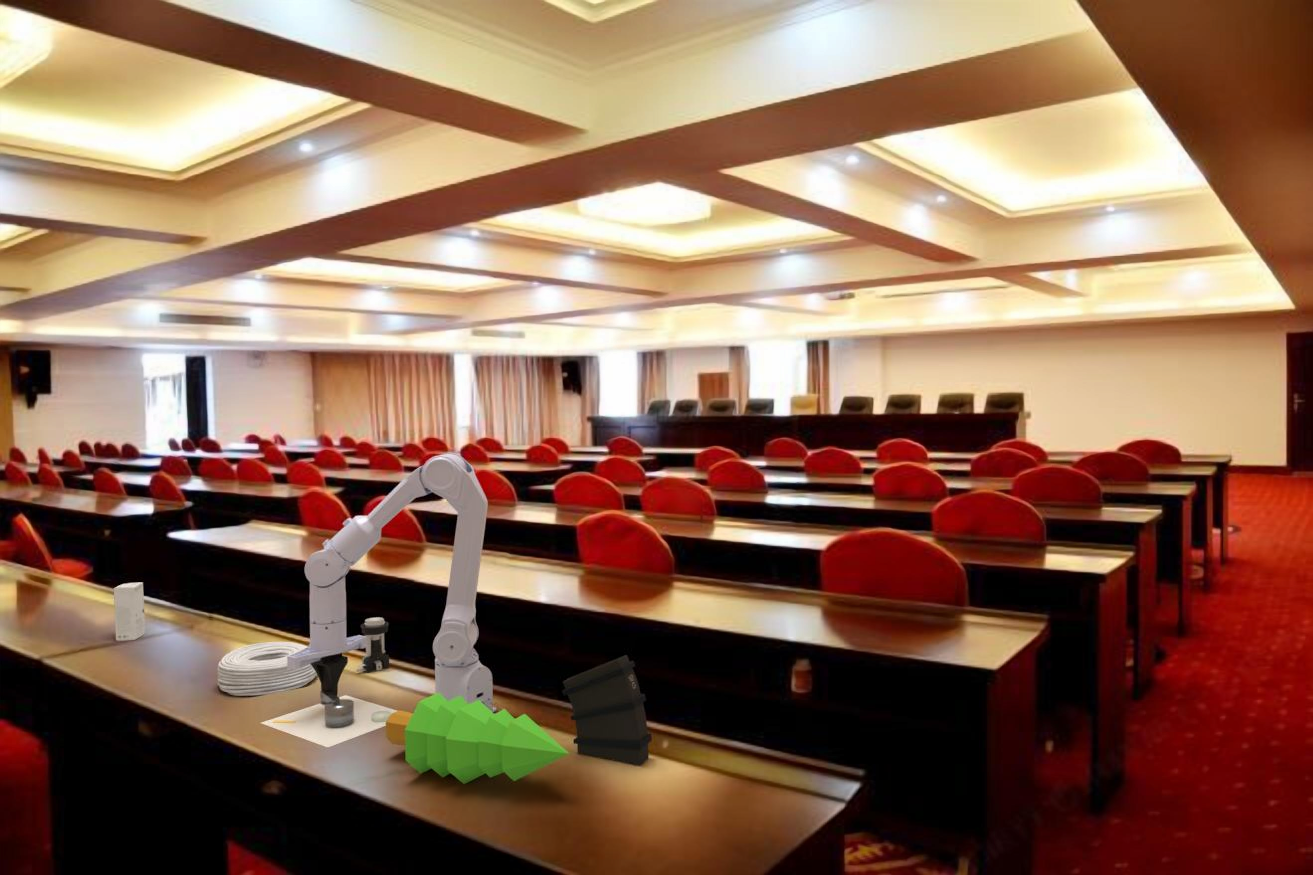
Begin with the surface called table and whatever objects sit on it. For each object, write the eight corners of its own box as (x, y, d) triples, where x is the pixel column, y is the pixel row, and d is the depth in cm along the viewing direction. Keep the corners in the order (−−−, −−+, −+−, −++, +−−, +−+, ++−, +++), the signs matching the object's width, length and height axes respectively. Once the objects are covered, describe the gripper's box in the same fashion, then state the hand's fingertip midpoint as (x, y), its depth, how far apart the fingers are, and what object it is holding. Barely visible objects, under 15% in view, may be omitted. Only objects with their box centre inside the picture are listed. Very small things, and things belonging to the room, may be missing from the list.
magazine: (659, 759, 121) (618, 659, 123) (587, 783, 126) (549, 687, 129) (670, 750, 124) (630, 653, 127) (600, 773, 130) (563, 679, 132)
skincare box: (136, 640, 192) (134, 586, 191) (114, 641, 191) (112, 587, 190) (146, 633, 198) (145, 581, 197) (124, 634, 197) (123, 582, 196)
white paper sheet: (413, 721, 141) (412, 710, 141) (327, 753, 128) (327, 741, 128) (345, 700, 151) (345, 690, 151) (260, 728, 138) (260, 717, 138)
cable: (259, 667, 172) (259, 637, 172) (337, 672, 168) (336, 642, 168) (195, 695, 155) (195, 662, 155) (280, 702, 151) (280, 668, 151)
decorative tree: (407, 671, 128) (578, 692, 115) (430, 731, 132) (598, 757, 119) (356, 723, 119) (535, 752, 105) (382, 786, 123) (558, 821, 110)
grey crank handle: (358, 722, 137) (357, 701, 137) (330, 729, 134) (330, 708, 134) (337, 706, 144) (336, 687, 144) (310, 713, 142) (310, 692, 141)
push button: (363, 676, 165) (362, 625, 164) (350, 671, 168) (349, 620, 168) (394, 668, 169) (393, 619, 169) (381, 663, 173) (380, 614, 173)
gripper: (346, 608, 151) (347, 683, 152) (274, 626, 139) (275, 708, 139) (374, 613, 148) (375, 690, 148) (303, 632, 135) (304, 716, 136)
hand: (329, 699), depth 144 cm, fingers closed, pressing on grey crank handle
